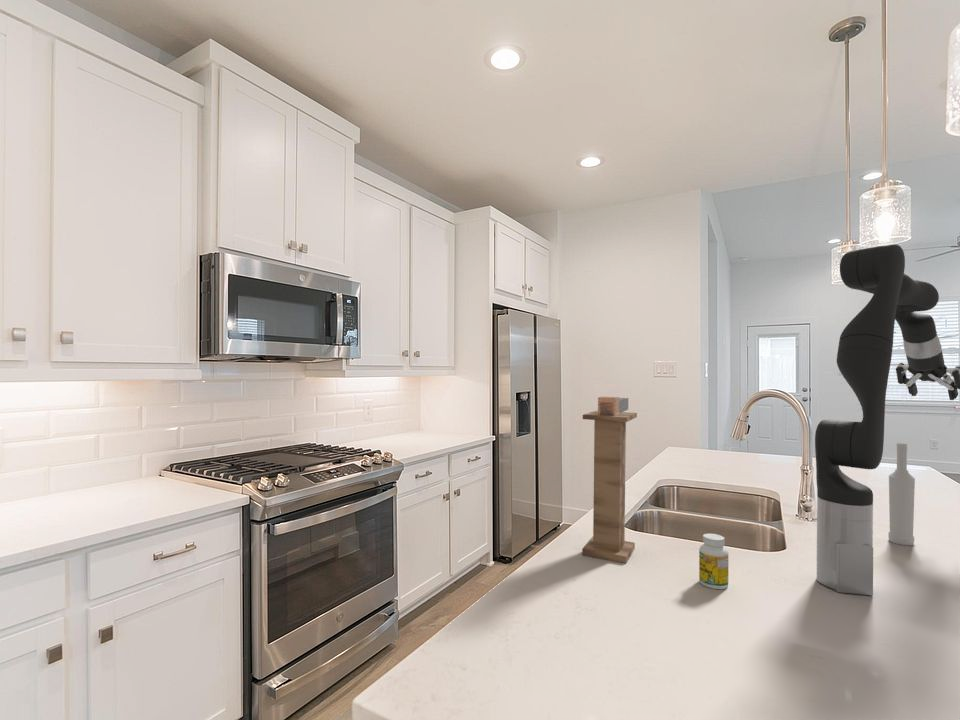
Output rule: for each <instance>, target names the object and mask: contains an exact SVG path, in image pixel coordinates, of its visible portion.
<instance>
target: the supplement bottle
mask: <svg viewBox="0 0 960 720" xmlns="http://www.w3.org/2000/svg"><path fill="white" fill-rule="evenodd" d="M725 540H726V539H725V537H724V536H722V535H720V534H717V533H703V534H702V542H703V543H702V544H701V545H700V546H699V550H698V554H699V559H698V560H699V562H698V563H699V565H698V566H699V568H698V570H699V571H698V573H699V575H698V578H699V582H700V584H701V585H703V586H705V587H706V588H708V589H713V590H725V589H727V588H728V587H729V550H728V549H727V548H726V547H725V543H726V541H725Z"/></svg>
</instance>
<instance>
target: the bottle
mask: <svg viewBox="0 0 960 720" xmlns="http://www.w3.org/2000/svg"><path fill="white" fill-rule="evenodd" d="M907 455H908V443H901V442H896V469H894V472H892V473H890V474H889V475H888V491H889V492H888V499H889V500H888V502H889V503H888V505H889V508H888V509H889V510H888V512H889V532H888V535H887V536H888V540H889V542H891V543H894V544H897V545H899V546H900V545H901V546H913V545H914V544H915V536H914V519H915V516H914V514H915V489H916V487H915V485H916V479H915V477H914V476H913V475H911V474H910V473H909V470H907V469H908V467H907V465H908V463H907V461H908V460H907V459H908V457H907Z"/></svg>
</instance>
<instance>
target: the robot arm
mask: <svg viewBox="0 0 960 720" xmlns="http://www.w3.org/2000/svg"><path fill="white" fill-rule="evenodd" d="M839 262H840V263H839V275H840V278H841V281H842V283H843V284H844V286H846V287H847V288H849V289H851V290H858V291H862V292H865V293H869V294H871V295H872V294H873V295H872V297H871V298H870V300H869V301H868V302H867V304H866V305H865V306H864V307H863V308H862V309H861V310H860V311H859V312H858V313H857V314H856V315H855V316H854V317H853V318H852V319H851V320H850V321H849V323H848V324H847V325H846V326H845V327H844V329H843V330H842V332H841V334H840V337H839V341H838V347H837V354H836V365H837V367H838V370H839V372H840V374H841V375H842V377H843V378H844V380H845V381H846V382H847V384H848V385H849V387H850V388H851V389H852V391H853V393H854V395H855V396H856V398H857V400H858V403H859V404H860V406H861V410H862V420H861V421H854V420H853V421H850V420H840V419H822V420H821V421H819V423H818V424H817V427H816V428H815V434H814V435H815V436H814V451H815V462H816V463H815V467H816V469H815V470H816V493H817V495H816V496H817V497H816V498H817V499H816V505H817V506H816V580H817V582H819V583H820V584H822V585H823V586H826V587H828V588H830V589H832V590H834V591H835V592H837V593H843V594H853V595H854V594H856V595H866V596H873V595H874V547H873V546H874V545H873V543H874V541H873V540H874V539H873V538H874V537H873V535H874V530H873V529H874V528H873V527H874V520H873V519H874V493H873V491H872V489H871V488H870V487H868V486H867V485H866V484H862V483H861V482H858V481H857V480H854V479H853V478H851V477H849V476H848V475H846V474H845V473H844V472H843V471H842V470H841V468H840V467H846V468H855V469H862V470H875V469H877V468H879V466H880V464H881V461H882V457H883V453H884V444H885V443H884V441H885V414H886V400H887V399H886V396H887V388H888V382H889V377H890V376H889V375H890V368H891V363H892V358H893V349H894V334H895V325H896V324H895V321H896V323H897V324H898V325H899V328H900V331H901V336H902V341H903V348H904V353H905V357H906V361H907V364H908V365H907V364H905V363H903V362H899V364H898V365H897V366H896V368H895V374H896V380H897V383H898V384H899V385H905V386H906V387H907V390H908V394H909V395H910V396H911V397H916V396H917V395H918V392H919V391H918V386H917V383H916V382H917V381H918V380H919V381H921V382H932V383H938V385H940V386H944V387H945V388H947V393H948V397H949V401H954V400H956V399H957V398H958V397H959V391H958V390H960V366H959V365H956V366H955V367H947V366H946V365H945V359H944V355H943V349H942V344H941V341H940V338H939V335H938V332H937V328H936V323H935V320H934V318H933V316H932V315H930V314H928V313H923V312H927V311H930V310H932V309H933V308H935V307H936V305H938V303H939V299H940V296H939V292H938V290H937V288H936V287H935V286H934V285H933V284H931V283H929V282H927V281H923V280H918V279H917V280H916V279H913V278H912V277H910V276H909V275H907V274H905V268H906V258H905V251H904V249H903V248H902V246H900V245H899V244H897V243H885V244H879V245H874V246H873V245H872V246H867V247H866V246H865V247H862V248H856V249H853V250H850V251H847V252H846V253H844V254H843V255H842V257H841V259H840V261H839ZM921 312H922V313H921ZM907 371H908V372H909V373H911V375H912V376H911V377H910V378H908V377H907V373H906V372H907Z"/></svg>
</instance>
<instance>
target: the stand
mask: <svg viewBox="0 0 960 720" xmlns="http://www.w3.org/2000/svg"><path fill="white" fill-rule="evenodd" d="M637 414H638V412H627V411H624V412H621V413H619V415H616V416H609V415H598V410H594V411H590V412H587V413H584V414H582V420H592V421H594V439H593V440H594V441H593V443H594V444H593V445H594V446H593V450H594V451H593V510H592V511H593V515H592V516H593V517H592V518H593V523H592V524H593V526H592V532H593V533H592V534H593V535H592V537H591V538H590V539H589V540H588V541H587V542H586V543H585V545H584V546H583V547H582V550H581V554H582V556H586V557H592V558H596V559H602V560H607V561H610V562H611V561H612V562H617V563H623V564H627V563H628V562H629V560H630V558H631V556H632V555H633V552H634V550H635V549H636V548H635V545H636V542H632V541H627V540H625V538H626V537H625V536H626V535H625V534H626V533H625V530H626V529H625V528H626V527H625V525H626V523H625V521H626V516H625V515H626V450H627V449H626V447H627V445H626V444H627V443H626V441H627V439H626V435H627V434H626V433H627V423H628V422H630V421H632V420H634V419H636V418H637V416H638V415H637Z"/></svg>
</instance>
